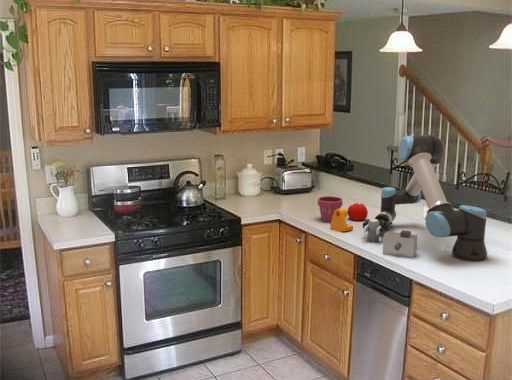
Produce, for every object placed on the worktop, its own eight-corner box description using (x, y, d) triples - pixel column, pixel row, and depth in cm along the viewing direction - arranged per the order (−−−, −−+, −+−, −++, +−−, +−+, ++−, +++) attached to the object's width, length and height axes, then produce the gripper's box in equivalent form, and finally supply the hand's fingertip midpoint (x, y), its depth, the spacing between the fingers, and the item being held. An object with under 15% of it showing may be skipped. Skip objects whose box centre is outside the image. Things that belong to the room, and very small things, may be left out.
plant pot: (339, 224, 299) (340, 202, 296) (315, 222, 303) (315, 200, 301) (343, 218, 312) (344, 197, 309) (320, 216, 316) (320, 195, 314)
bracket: (353, 230, 287) (354, 209, 284) (344, 233, 282) (345, 211, 280) (339, 226, 295) (340, 205, 293) (330, 228, 291) (330, 207, 288)
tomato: (350, 216, 316) (350, 201, 314) (370, 218, 311) (370, 203, 309) (344, 220, 307) (344, 205, 305) (364, 223, 302) (365, 207, 300)
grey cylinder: (381, 240, 268) (382, 219, 266) (374, 243, 264) (375, 222, 262) (371, 238, 272) (372, 217, 270) (365, 240, 268) (366, 219, 266)
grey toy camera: (420, 247, 258) (421, 225, 255) (412, 259, 241) (413, 235, 238) (391, 243, 264) (392, 222, 262) (381, 254, 247) (382, 232, 245)
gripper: (400, 229, 279) (389, 240, 259) (365, 224, 287) (352, 235, 267) (400, 215, 277) (389, 226, 257) (366, 211, 286) (352, 221, 266)
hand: (370, 231), depth 262 cm, fingers closed on grey cylinder, 6 cm apart
